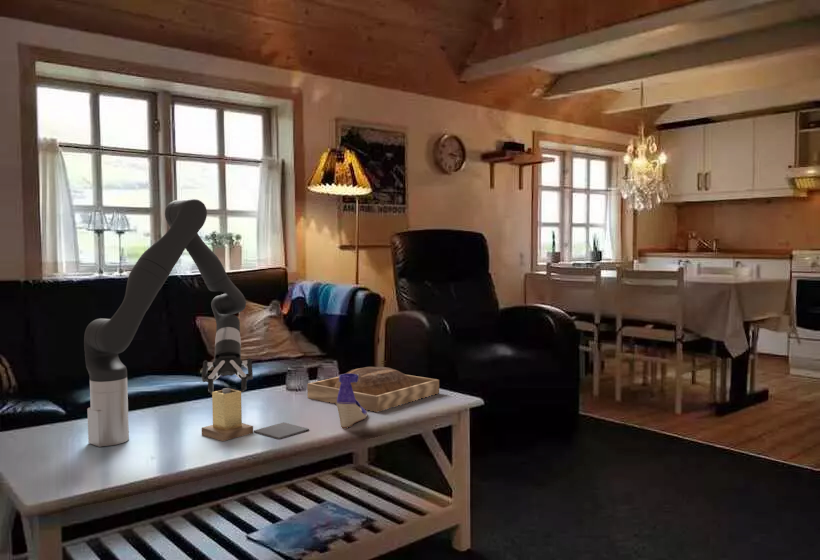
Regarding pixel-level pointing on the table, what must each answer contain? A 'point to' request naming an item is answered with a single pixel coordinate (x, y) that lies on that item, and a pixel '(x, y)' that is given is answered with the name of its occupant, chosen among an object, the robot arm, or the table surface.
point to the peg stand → (227, 434)
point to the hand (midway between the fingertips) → (227, 391)
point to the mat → (280, 430)
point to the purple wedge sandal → (349, 402)
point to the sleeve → (226, 409)
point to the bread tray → (416, 391)
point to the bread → (377, 380)
